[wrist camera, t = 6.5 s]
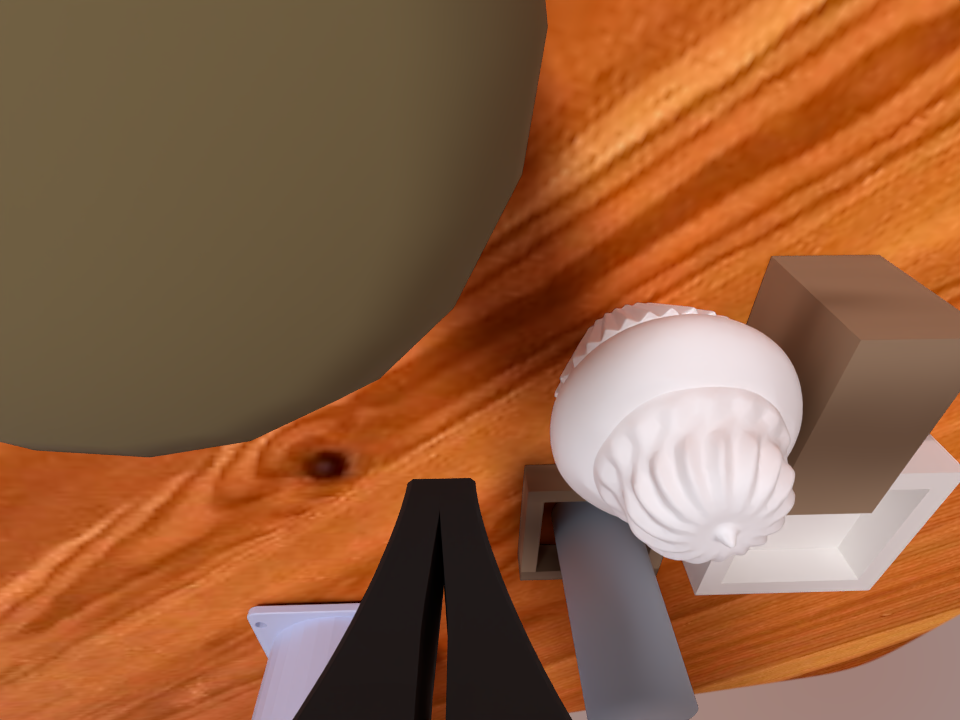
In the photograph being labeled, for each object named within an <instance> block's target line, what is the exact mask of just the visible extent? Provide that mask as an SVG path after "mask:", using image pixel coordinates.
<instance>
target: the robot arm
mask: <svg viewBox="0 0 960 720" xmlns="http://www.w3.org/2000/svg"><path fill="white" fill-rule="evenodd" d="M443 590H444V591H445V605H446V619H447V633H448V650H447V693H446V720H572V719H571V717H570V715H569V713H568V712H567V710H566V708H565V707H564V705H563V703H562V702H561V700H560V698H559V696H558V694H557V692H556V691H555V689H554V687H553V685H552V683H551V681H550V679H549V678H548V676H547V674H546V672H545V670H544V668H543V666H542V664H541V662H540V660H539V658H538V656H537V654H536V652H535V650H534V648H533V646H532V644H531V642H530V640H529V638H528V636H527V634H526V632H525V630H524V628H523V625H522V623H521V621H520V619H519V617H518V614H517V612H516V610H515V607H514V605H513V603H512V601H511V598H510V596H509V594H508V591H507V589H506V586H505V584H504V581H503V579H502V576H501V573H500V571H499V568H498V565H497V563H496V560H495V557H494V554H493V552H492V549H491V546H490V543H489V540H488V537H487V533H486V530H485V527H484V523H483V520H482V516H481V512H480V508H479V503H478V498H477V492H476V483H475V481H474V480H472V479H471V478H452V479H413V480H411V481H410V482H409V483H408V484H407V489H406V493H405V497H404V500H403V503H402V507H401V510H400V513H399V516H398V518H397V521H396V524H395V527H394V529H393V532H392V534H391V537H390V540H389V542H388V544H387V547H386V549H385V551H384V554H383V556H382V558H381V561H380V563H379V565H378V568H377V570H376V572H375V574H374V577H373V579H372V581H371V583H370V585H369V587H368V589H367V591H366V593H365V595H364V597H363V599H362V601H361V603H343V604H308V605H273V606H255V607H252V608H251V609H250V610H249V612H248V615H247V619H248V621H249V623H250V625H251V627H252V629H253V631H254V633H255V634H256V636H257V638H258V640H259V642H260V644H261V646H262V648H263V650H264V652H265V654H266V655H267V657H268V662H267V665H266V669H265V673H264V676H263V680H262V684H261V687H260V691H259V695H258V698H257V702H256V705H255V709H254V713H253V716H252V720H431V714H432V699H433V688H434V678H435V668H436V659H437V649H438V639H439V629H440V620H441V610H442V600H443Z"/></svg>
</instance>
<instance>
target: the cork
mask: <svg viewBox="0 0 960 720" xmlns="http://www.w3.org/2000/svg"><path fill="white" fill-rule="evenodd" d="M547 28H548V24H547V14H546V3H545V0H0V442H3V443H8V444H12V445H16V446H20V447H24V448H28V449H32V450H39V451H55V452H71V453H88V454H104V455H121V456H137V457H155V456H161V455H167V454H173V453H180V452H186V451H192V450H198V449H204V448H210V447H216V446H223V445H229V444H235V443H241V442H247V441H251V440H254V439H256V438H258V437H260V436H262V435H264V434H266V433H268V432H271V431H273V430H275V429H277V428H279V427H281V426H283V425H285V424H288V423H290V422H292V421H294V420H296V419H298V418H300V417H302V416H304V415H307V414H309V413H311V412H313V411H315V410H317V409H319V408H321V407H324V406H326V405H328V404H330V403H332V402H334V401H336V400H338V399H340V398H342V397H344V396H346V395H348V394H350V393H352V392H354V391H356V390H358V389H360V388H362V387H364V386H366V385H368V384H370V383H372V382H374V381H376V380H378V379H380V378H381V377H382V376H383V375H384V374H385V373H386V372H387V371H388V370H389V369H390V368H391V367H392V366H393V365H394V364H395V363H396V362H397V361H399V360H400V359H401V358H402V357H403V356H404V355H405V354H406V353H407V352H408V351H409V350H410V349H411V348H412V347H413V346H414V345H415V344H416V343H417V342H418V341H419V340H420V339H422V338H423V337H424V336H425V335H426V334H427V333H428V332H429V331H430V330H431V329H432V328H433V327H434V326H435V325H436V324H437V323H438V322H439V321H440V320H441V319H442V318H444V317H445V316H446V315H447V314H448V313H449V312H450V311H451V310H452V309H453V308H454V306H455V304H456V302H457V300H458V298H459V296H460V294H461V292H462V290H463V288H464V287H465V285H466V283H467V281H468V279H469V277H470V275H471V273H472V271H473V269H474V267H475V265H476V263H477V261H478V259H479V257H480V255H481V253H482V251H483V250H484V248H485V246H486V244H487V242H488V240H489V238H490V236H491V234H492V232H493V230H494V228H495V226H496V224H497V222H498V220H499V218H500V216H501V214H502V212H503V210H504V209H505V207H506V205H507V203H508V201H509V199H510V197H511V195H512V193H513V191H514V189H515V187H516V185H517V183H518V181H519V179H520V177H521V175H522V171H523V166H524V160H525V154H526V148H527V143H528V137H529V131H530V125H531V120H532V114H533V108H534V102H535V97H536V91H537V85H538V80H539V74H540V68H541V62H542V57H543V51H544V45H545V39H546V34H547Z"/></svg>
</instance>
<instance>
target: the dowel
mask: <svg viewBox="0 0 960 720" xmlns="http://www.w3.org/2000/svg"><path fill="white" fill-rule="evenodd" d="M551 519H552V524H553V530H554V535H555V541H556V547H557V552H558V558H559V563H560V569H561V574H562V580H563V585H564V591H565V596H566V602H567V608H568V613H569V619H570V624H571V630H572V635H573V641H574V646H575V652H576V658H577V663H578V669H579V674H580V680H581V685H582V691H583V696H584V702H585V707H586V713H587V719H588V720H689V719H690V718H692V717H693V716H694V715H695V714H696V713H697V711H698V705H697V702H696V699H695V696H694V693H693V689H692V686H691V683H690V680H689V677H688V674H687V671H686V668H685V665H684V662H683V659H682V656H681V653H680V650H679V647H678V643H677V640H676V637H675V634H674V631H673V628H672V625H671V622H670V619H669V616H668V613H667V610H666V607H665V604H664V601H663V597H662V594H661V591H660V588H659V585H658V582H657V579H656V576H655V573H654V570H653V567H652V564H651V561H650V558H649V555H648V551H647V548H646V545H645V543H644V542H642V541H641V540H640V539H638V538H637V537H636V536H635V535H634V534H633V532H632V531H631V529H630V526H629V523H627V522H625V521H623V520H621V519H620V518H619V517H616V516H614V515H611V514H609V513H607V512H605V511H603V510H601V509H599V508H597V507H595V506H594V505H592V504H591V503H589V502H588V501H580V502H558V503H557V504H556V505H555V506H554V508H553V510H552V514H551Z"/></svg>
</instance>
